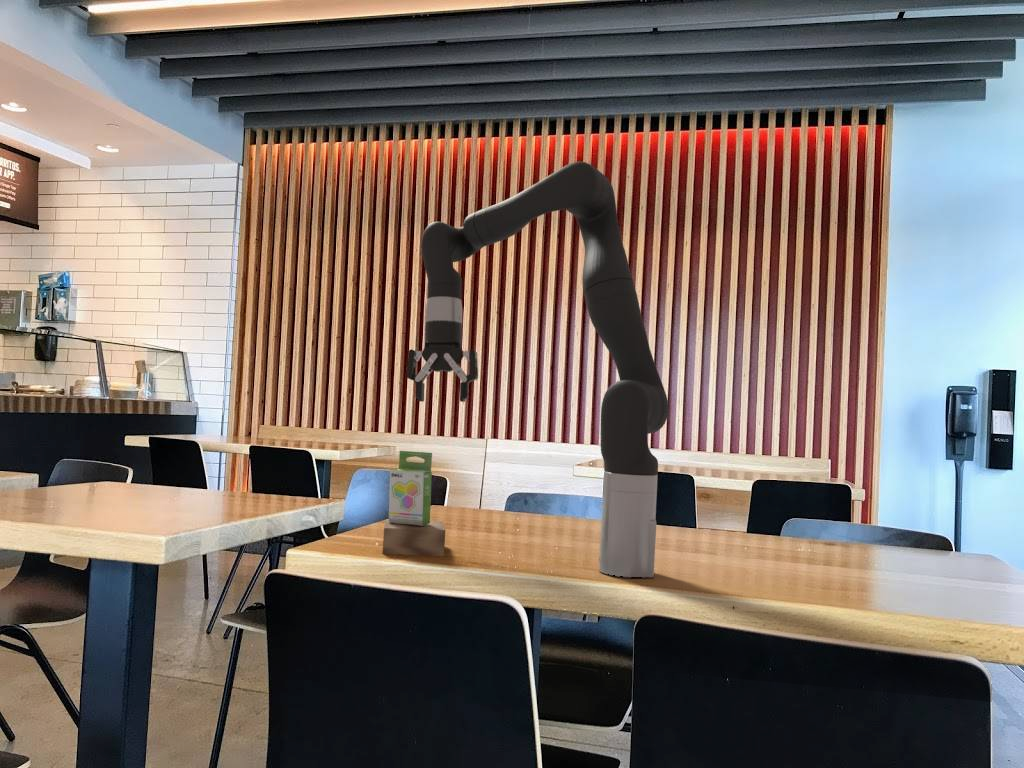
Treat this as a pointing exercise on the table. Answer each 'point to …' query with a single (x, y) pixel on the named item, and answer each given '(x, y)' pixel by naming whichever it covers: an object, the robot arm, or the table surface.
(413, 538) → the walnut block
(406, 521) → the ink box
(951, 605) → the table surface
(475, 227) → the robot arm
